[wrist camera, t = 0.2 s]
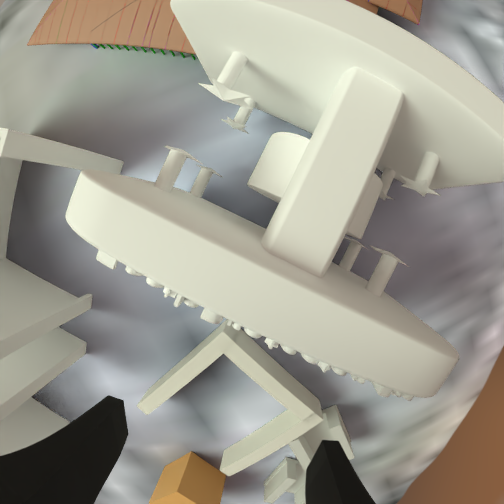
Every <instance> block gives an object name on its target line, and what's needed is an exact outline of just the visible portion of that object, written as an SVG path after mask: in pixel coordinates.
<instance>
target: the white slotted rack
mask: <svg viewBox="0 0 504 504" xmlns="http://www.w3.org/2000/svg"><path fill="white" fill-rule="evenodd" d="M23 160H26V161H32V162H38V163H44V164H50V165H56V166H62V167H67V168H73V169H79V170H85V169H94V170H100V171H105V172H110V173H114V174H119V175H120V173H121V170H122V166H123V163H124V161H121V160H117V159H114V158H111V157H108V156H104V155H101V154H98V153H94V152H91V151H87V150H84V149H81V148H77V147H74V146H70V145H66V144H63V143H59V142H56V141H52V140H48V139H45V138H41V137H37V136H34V135H30V134H26V133H22V132H18V131H14V130H10V129H5V128H0V456H2V455H6V454H9V453H12V452H15V451H17V450H20V449H23V448H25V447H28V446H30V445H32V444H34V443H36V442H39V441H41V440H42V439H44V438H46V437H48V436H50V435H52V434H53V433H55V432H57V431H58V430H60V429H62V428H63V427H65V426H66V425H68V424H69V423H70V422H69V421H67V420H65V419H64V418H62V417H61V416H59V415H57V414H56V413H54V412H53V411H51V410H50V409H48V408H47V407H45V406H44V405H42V404H41V403H39V402H38V401H36V400H35V399H33V398H32V397H31V396H33V395H34V394H35V393H36V392H38V391H39V390H40V389H41V388H43V387H44V386H45V385H47V384H48V383H49V382H50V381H52V380H53V379H54V378H55V377H57V376H58V375H59V374H61V373H62V372H63V371H64V370H66V369H67V368H68V367H70V366H71V365H72V364H73V363H75V362H76V361H77V360H79V359H80V358H81V357H82V356H84V355H85V354H86V346H87V342H85V341H83V340H81V339H79V338H77V337H76V336H74V335H72V334H70V333H68V332H66V331H65V330H63V329H61V328H59V326H60V325H62V324H64V323H66V322H68V321H69V320H71V319H73V318H75V317H77V316H79V315H80V314H82V313H84V312H86V311H88V310H89V309H91V304H92V297H93V295H91V294H86V295H84V296H82V297H80V298H78V297H76V296H74V295H72V294H70V293H68V292H66V291H64V290H62V289H60V288H58V287H56V286H54V285H53V284H51V283H49V282H47V281H45V280H43V279H41V278H40V277H38V276H36V275H34V274H32V273H31V272H29V271H27V270H25V269H24V268H22V267H20V266H19V265H17V264H15V263H13V262H12V261H10V260H8V259H7V258H6V250H7V241H8V233H9V226H10V219H11V213H12V207H13V202H14V196H15V191H16V186H17V182H18V177H19V173H20V169H21V165H22V161H23Z"/></svg>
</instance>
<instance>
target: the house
mask: <svg viewBox="0 0 504 504" xmlns="http://www.w3.org/2000/svg"><path fill="white" fill-rule="evenodd" d="M170 1H171V0H53V2H52V3H51V5H50V6H49V8H48V10H47V11H46V13H45V14H44V16H43V18H42V19H41V21H40V23H39V24H38V26H37V28H36V29H35V31H34V33H33V35H32V37H31V38H30V40H29V42H28V44H27V45H28V46H29V45H43V44H91V45H92V46H94V47H95V48H96V49H98V46H97V45H96V44H99V45H100V46H102V47H103V48H104V49H105V47H104V46H103V45H102V44H107V45H108V46H109V47H110V48H111V49H113V48H112V47H111V46H110V45H109V44H111V45H115V46H116V47H117V48H118V49H119V50H121V48H120V47H119V46H118V45H123V46H124V47H125V48H126V49H127V50H128V51H129V49H128V48H127V47H126V46H132V47H133V48H134V49H135V50H136V51H137V49H136V48H135V47H134V46H138V47H141V48H142V49H143V50H144V52H146V50H145V49H144V48H143V47H147V48H150V49H151V50H152V51H153V52H154V54H155V51H154V50H153V48H156V49H160V50H161V52H162V53H163V54H164V55H165V53H164V51H163V50H162V49H164V50H170V52H171V53H172V55H173V56H175V55H174V53H173V52H172V51H178V52H180V53H181V55H182V56H183V58H184V57H185V56H184V54H183V53H182V52H184V53H190V54H191V55H192V57H193V59H194V60H195V57H194V55H193V54H196V53H195V51H194V49H193V47H192V45H191V44H190V42H189V40H188V38H187V36H186V34H185V33H184V31H183V29H182V27H181V25H180V23H179V22H178V20H177V18H176V16H175V14H174V13H173V11H172V9H171V5H170ZM346 1H348V2H351V3H353V4H355V5H357V6H360V7H362V8H364V9H366V10H368V11H370V12H372V13H374V14H376V15H377V12H378V8H379V7H381V8H384V9H386V10H388V11H391V12H393V13H395V14H397V15H399V16H401V17H403V18H406V19H408V20H410V21H412V22H414V23H415V24H417V25H419V22H420V15H421V8H422V1H423V0H346ZM125 45H126V46H125Z"/></svg>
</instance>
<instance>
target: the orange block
mask: <svg viewBox="0 0 504 504" xmlns="http://www.w3.org/2000/svg"><path fill="white" fill-rule="evenodd" d="M225 478H226V475H225V474H224V473H222V472H221V471H219V470H218V469H216V468H215V467H213V466H212V465H210V464H209V463H207V462H206V461H204V460H203V459H202V458H200V457H199V456H197V455H196V454H195V453H193V452H192V451H191V452H190V453H188V454H186V455H184V456H183V457H181V458H179V459H177V460H176V461H174V462H172V463H170V464H168V465H166V466H165V467H164V470H163V472H162V474H161V477H160V479H159V481H158V483H157V486H156V488H155V490H154V492H153V494H152V497H151V499H150V501H149V503H150V504H220V502H221V497H222V492H223V487H224V483H225Z"/></svg>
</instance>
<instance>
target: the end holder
mask: <svg viewBox="0 0 504 504" xmlns="http://www.w3.org/2000/svg"><path fill="white" fill-rule="evenodd" d="M228 321H229V319H227V320H226V321H224V322H223V323H222V324H221V325H220V326H219V327H218V328H217V329H216V330H215V331H213V332H212V333H211V334H210V335H209V336H208V337H207V338H206V339H205V340H203V341H202V342H201V343H200V344H199V345H198V346H197V347H196V348H195V349H193V350H192V351H191V352H190V353H189V354H188V355H187V356H186V357H184V358H183V359H182V360H181V361H180V362H179V363H178V364H177V365H175V366H174V367H173V368H172V369H171V370H170V371H169V372H167V373H166V374H165V375H164V376H163V377H162V378H161V379H159V380H158V381H157V382H156V383H155V384H154V385H152V386H151V387H150V388H149V389H148V390H147V392H146V393H145V395H144V396H143V397H142V399H141V400H140V402H139V403H138V405H137V407H138V408H139V409H141V410H142V411H143V412H144V413H145V414H146V415H148V414H149V413H151V412H152V411H153V410H155V409H156V408H157V407H158V406H160V405H161V404H162V403H164V402H165V401H166V400H167V399H169V398H170V397H171V396H172V395H174V394H175V393H176V392H177V391H179V390H180V389H181V388H182V387H184V386H185V385H186V384H187V383H189V382H190V381H191V380H192V379H193V378H195V377H196V376H197V375H198V374H200V373H201V372H202V371H203V370H204V369H206V368H207V367H208V366H209V365H210V364H212V363H213V362H214V361H215V360H216V359H217V358H219V357H220V356H221V355H222V354H223V353H224V354H225V355H226V356H227V357H228V358H229V359H230V360H231V361H232V362H234V363H235V364H236V365H237V366H238V367H239V368H240V369H241V370H242V371H244V372H245V373H246V374H247V375H248V376H249V377H250V378H252V379H253V380H254V381H255V382H256V383H257V384H258V385H260V386H261V387H262V388H263V389H264V390H265V391H267V392H268V393H269V394H270V395H271V396H273V397H274V398H275V399H276V400H277V401H279V402H280V403H281V404H282V405H283V406H285V407H286V408H287V410H286V411H284V412H283V413H281V414H280V415H278V416H277V417H275V418H274V419H273V420H271V421H270V422H268V423H267V424H265V425H264V426H262V427H261V428H259V429H258V430H256V431H254V432H253V433H251V434H250V435H248V436H247V437H245V438H243V439H242V440H240V441H239V442H237V443H235V444H234V445H232V446H230V447H229V448H227V449H225V450H224V453H223V458H222V462H221V466H220V471H221V472H223V473H224V474H226V475H228V476H231V475H233V474H235V473H237V472H239V471H241V470H243V469H245V468H247V467H249V466H250V465H252V464H254V463H256V462H258V461H259V460H261V459H263V458H265V457H267V456H268V455H270V454H272V453H273V452H275V451H277V450H278V449H280V448H282V447H283V446H285V445H287V444H288V443H290V442H291V441H293V440H295V439H296V438H298V437H299V436H301V435H302V434H304V433H305V432H307V431H308V430H310V429H311V428H313V427H314V426H316V425H317V424H319V423H320V422H321V421H323V415H322V410H321V405H320V401H319V399H318V398H317V397H316V396H314V395H313V394H312V393H311V392H310V391H309V390H307V389H306V388H305V387H304V386H303V385H302V384H301V383H300V382H298V381H297V380H296V379H295V378H294V377H293V376H292V375H291V374H289V373H288V372H287V371H286V370H285V369H284V368H283V367H282V366H281V365H279V364H278V363H277V362H276V361H275V360H274V359H273V358H272V357H271V356H270V355H269V354H267V353H266V352H265V351H264V350H263V349H262V348H261V347H260V346H259V345H258V344H257V343H256V342H255V341H254V340H252V339H251V338H250V337H249V336H248V335H247V334H246V333H245V332H244V331H243V330H242V329H241V328H240V330H239V331H238V330H236V329H234V328H233V326H232V324H231V325H230V326H228V325H227V323H228Z"/></svg>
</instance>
